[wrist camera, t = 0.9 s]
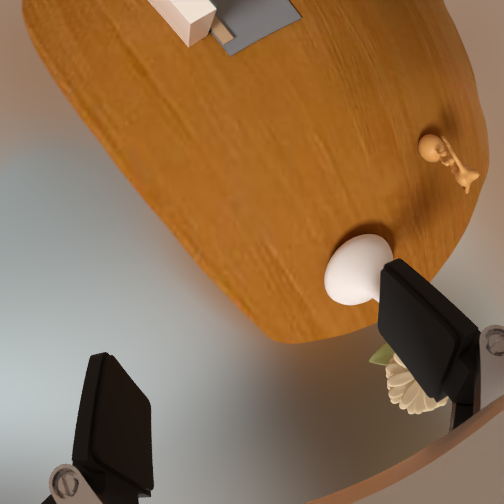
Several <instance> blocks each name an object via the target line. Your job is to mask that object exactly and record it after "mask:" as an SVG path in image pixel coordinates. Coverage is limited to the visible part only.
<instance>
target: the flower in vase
mask: <svg viewBox="0 0 504 504" xmlns="http://www.w3.org/2000/svg"><path fill="white" fill-rule="evenodd" d="M391 261H393V254H392V251H391V249H390V246H389V244H388V243H387V241H386V240H385V239H383V238H382V237H380V236H378V235H375V234H364V235H360V236H356V237H354V238H352V239H350V240H348V241H347V242H345V243H344V244H342V245H341V246H340V247H339V248H338V249H337V250H336V252H335V253H334V254H333V256H332V257H331V259H330V261H329V263H328V265H327V269H326V272H325V279H324V283H325V288H326V291H327V293H328V295H329V296H330V297H331V298H332V299H333V300H334V301H336V302H339V303H341V304H344V305H356V304H361V303H364V302H366V301H369V300H370V299H372V298H374V299H375V300H376V301H378V302H379V296H380V272H381V270H382V269H383V267H384V265H385V264H386V263H388V262H391ZM369 362H371V363H375V364H380V365H387V366H386V377H387V378H388V380H387V383H388V384H387V388H388V389H389V390H390V391H389V397H390V398H391V402H392V403H394V404H396V403H398V402H400V404H399V405H400V408H401V409H406V408H408V409H407V410H408V413H409V414H414V413H416V414H420V413H422V412H423V411H424V412H426V411H428V410H429V411H432V410H434V409H435V408H437V407H439V406H444V405H445V404H446V403H447V398H449V397H448V396H447V397H445V398H444V399H442V400H441V401H439V402H438V403H437V402H436V401H435V400H434V398H429V397H428V396H427V395H426V394H425V392H424V391H423V389H422V388H421V387H420V385H419V384H418V383H417V381H416V380H415V379H414V377H413V376H412V375H411V373H410V372H409V370H408V369H407V368H406V366H405V365H404V364H403V362H402V361H401V360H400V359H399V357H398V356H397V355H396V353H395V352H394V351H393V349H392V348H391V347H390V345H389V344H388V343H386V344H384V345H383V346H381V347H380V348H379V349H378V350H377V351H376V352H375V354H374V355H373V356H372V357H371V359H370V360H369Z"/></svg>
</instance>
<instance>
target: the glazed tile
mask: <svg viewBox="0 0 504 504" xmlns="http://www.w3.org/2000/svg"><path fill="white" fill-rule="evenodd" d="M148 1H149V2H150V4H151V5H152V6H153V7H154V8H155V9H156V10H157V11H158V12H159V14H160V15H161V16H162V17H163V18H164V19H165V20H166V22H167V23H168V24H169V25H170V26H171V27H172V28H173V30H174V31H175V32H176V33H177V34H178V36H179V37H180V38H181V39H182V40H183V41H184V43H185V44H186V45H187V46H188V48H189V47H190V46H192V45H193V44H195V43H196V42H198V41H199V40H201V39H203V38H204V37H206V36H207V35H208V32H209V30H210V27H211V24H212V21H213V18H214V15H215V12H216V10H217V9H216V7H217V6H216V5H215V4H214V3H213V1H212V0H148Z"/></svg>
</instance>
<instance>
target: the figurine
mask: <svg viewBox="0 0 504 504" xmlns="http://www.w3.org/2000/svg"><path fill="white" fill-rule="evenodd" d="M441 138H442V139H443V140H444V141H445V143H446V145H447V147H448V149H449V150H447V151H445V148H444V144H443V142H442V140H441V139H440V138H439V137H437V136H436V135H433V134H428V135H425V136H423V137H422V138H421V139H420V141H419V144H418V149H419V153H420V155H421V156H422V157H423V158H424V159H425V160H426V161H429V162H437V161H439V160H440V161H441V163H442V164H444V165H445V166H449V165H450V168H451V172H452V173H453V174H454V176H455V178H456V180H457V182H458V183H459V184H460V185H461V186H462V187H461V188H462V189H463V190H464V192H465V193H466V194H468V192H469V187H470V184H471V182H472V181H473V180H475V179H477V178H478V177H479V172H478V171H476V170H475V169H469V168H468V167H467V166H466V165H463V164H462V163H461V162H460V160H459V159H458V157H457V156H456V155H455V153H454V151H453V150H452V147H451V145H450V144H449V143H448V141H447V139H446V138H445V137H443V136H442V137H441ZM446 154H447V160H448V161H445V162H444V160H443V157H444V156H446Z"/></svg>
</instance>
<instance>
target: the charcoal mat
mask: <svg viewBox="0 0 504 504" xmlns="http://www.w3.org/2000/svg"><path fill="white" fill-rule="evenodd" d="M212 1H213V3H214V4H215V5H216V6H217V7H216V9H217V10H216V12H215V15H214V18H213V21H212V24H211V27H210V30H209V31H210V32H211V33H212V34H213V36H214V37H215V38H216V39H217V40H218V42H219V43H220V44H221V45H222V47H223V48H224V49H225V50H226V52H227V53H228V54H229V56H232V55H234V54H235V53H237V52H239V51H240V50H242V49H244V48H245V47H247V46H249V45H251V44H252V43H254V42H256V41H258V40H260V39H261V38H263V37H265V36H267V35H269V34H271V33H273V32H275V31H277V30H279V29H281V28H283V27H285V26H287V25H289V24H291V23H293V22H295V21H297V20H299V19H301V16H300V15H299V14H298V12H297V11H296V10H295V8H294V7H293V6H292V5H291V3H290V2H289V1H288V0H212Z"/></svg>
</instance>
